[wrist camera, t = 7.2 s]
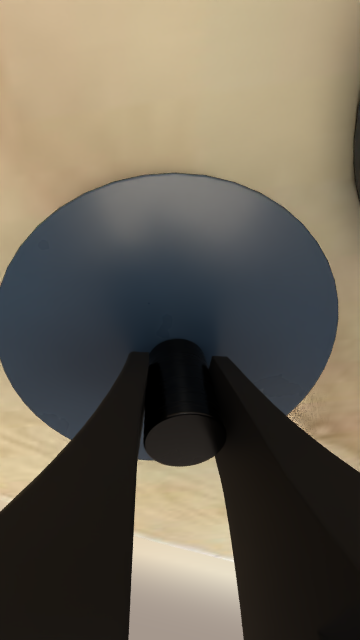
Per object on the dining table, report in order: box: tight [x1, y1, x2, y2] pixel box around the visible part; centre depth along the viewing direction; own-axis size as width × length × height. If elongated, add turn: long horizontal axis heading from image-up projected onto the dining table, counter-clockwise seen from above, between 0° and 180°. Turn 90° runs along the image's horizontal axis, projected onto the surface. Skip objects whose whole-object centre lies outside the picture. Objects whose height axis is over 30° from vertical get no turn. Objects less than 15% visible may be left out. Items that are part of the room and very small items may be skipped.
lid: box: [0, 173, 338, 467], centre depth 9 cm, size 13×13×5 cm
